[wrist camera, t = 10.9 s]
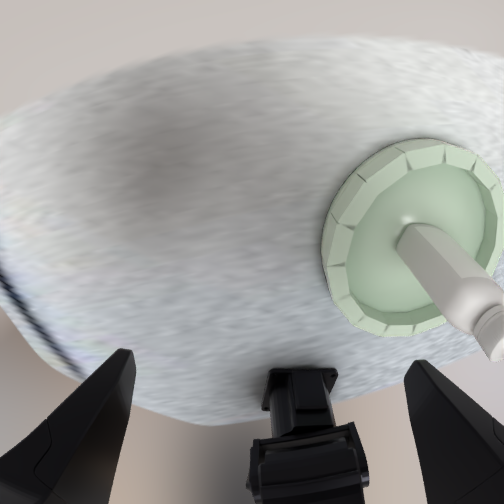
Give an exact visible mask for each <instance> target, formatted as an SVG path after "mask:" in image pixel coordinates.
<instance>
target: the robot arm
mask: <svg viewBox="0 0 504 504" xmlns="http://www.w3.org/2000/svg"><path fill="white" fill-rule="evenodd" d="M135 377H136V365H135V360H134V355H133V352H132V350H129V349H123V348H120V349H118V350H117V351H115V352H114V353H113V354H112V355H111V356H110V357H109V358H108V359H107V360H106V361H105V362H104V363H103V364H102V365H101V366H100V367H99V368H98V369H97V370H95V371H94V372H93V373H92V374H91V375H90V376H89V377H88V378H87V379H86V380H85V381H84V382H83V383H82V384H81V385H80V386H79V387H78V388H77V389H76V390H75V391H74V392H73V393H72V394H71V395H70V396H69V397H68V398H66V399H65V400H64V402H62V403H61V404H60V405H59V406H58V407H57V408H56V409H55V410H54V411H53V412H52V413H51V414H50V415H49V416H48V417H47V419H45V420H44V421H43V422H42V423H41V424H40V425H39V426H38V427H37V428H36V429H34V431H32V432H31V433H30V434H29V435H28V436H27V437H26V438H24V439H23V440H22V441H21V442H19V443H18V444H17V445H16V446H14V447H13V448H12V449H11V450H9V451H8V452H7V453H5V454H4V455H3V456H1V457H0V504H108V503H109V498H110V493H111V488H112V485H113V480H114V476H115V472H116V467H117V463H118V459H119V455H120V451H121V447H122V444H123V440H124V436H125V432H126V428H127V425H128V421H129V416H130V410H131V403H132V396H133V390H134V384H135ZM337 377H338V372H337V370H335V369H315V370H303V369H272V370H270V371H269V374H268V379H267V383H266V387H265V392H264V396H263V400H262V405H261V409H262V410H263V411H270V416H271V428H272V438H269V439H254V440H253V447H251V449H250V469H249V473H248V477H247V481H246V488H247V490H249V491H250V492H251V493H252V495H253V497H254V500H255V503H256V504H365V500H364V494H363V488H364V487H368V486H369V471H368V465H367V460H366V456H365V453H364V450H363V447H362V444H361V441H360V438H359V435H358V432H357V429H356V427H355V424H354V422H350V423H348V424H345V425H341V426H336V423H335V419H334V414H333V410H332V405H331V401H330V397H329V394H330V392H331V390H332V388H333V386H334V384H335V381H336V379H337ZM404 385H405V392H406V398H407V405H408V411H409V417H410V422H411V427H412V431H413V435H414V439H415V443H416V448H417V452H418V457H419V462H420V466H421V471H422V476H423V481H424V486H425V492H426V497H427V503H428V504H504V426H503V425H502V424H501V423H499V422H498V421H497V420H496V419H495V418H493V417H492V416H491V415H490V414H489V413H488V412H486V411H485V410H484V409H483V408H482V407H481V406H480V405H479V404H477V403H476V402H475V401H474V400H473V399H472V398H470V397H469V396H468V395H467V394H466V393H465V392H463V391H462V390H461V389H459V387H457V386H456V385H455V384H454V383H453V382H451V381H450V380H449V379H448V378H447V377H446V376H444V375H443V374H442V373H441V372H439V371H438V370H437V369H436V368H435V367H434V366H432V365H431V364H430V363H429V362H428V361H426V360H415V361H414V362H413V363H412V365H411V366H410V368H409V370H408V371H407V373H406V374H405V377H404Z"/></svg>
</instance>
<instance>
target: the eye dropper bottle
mask: <svg viewBox="0 0 504 504" xmlns="http://www.w3.org/2000/svg"><path fill="white" fill-rule="evenodd" d="M396 250H397V253H398V255H399V256H400V257H401V259H402V260H403V261H404V263H405V264H406V265H407V267H408V268H409V269H410V271H411V272H412V273H413V275H414V276H415V277H416V279H417V280H418V282H419V283H420V284H421V286H422V287H423V288H424V290H425V291H426V292H427V294H428V295H429V297H430V298H431V299H432V301H433V302H434V304H435V305H436V306H437V308H438V309H439V311H440V312H441V313H442V315H443V316H444V317H445V318H446V320H447V321H448V322H449V323H450V324H451V325H452V326H453V327H455V328H456V329H458V330H459V331H461V332H463V333H466V334H469V335H474V337H475V339H476V340H477V342H478V343H479V345H480V346H481V348H482V349H483V351H484V352H485V354H486V355H487V357H488V358H489V360H490V361H491V362H499V361H501V360H503V359H504V291H503V290H502V289H501V287H500V286H499V285H498V284H497V283H496V282H495V281H494V280H493V278H492V277H491V276H490V275H489V274H488V273H487V272H486V271H485V270H484V269H483V268H482V267H481V266H480V265H479V264H478V263H477V262H476V261H475V260H474V259H473V258H472V257H471V256H470V255H469V254H468V253H467V252H466V251H465V250H464V249H463V248H462V247H461V246H460V245H459V244H458V243H457V242H456V241H455V240H454V239H453V238H451V237H450V236H449V235H448V234H447V233H446V232H444V231H443V230H441V229H439V228H437V227H435V226H432V225H427V224H412V225H409V226H408V227H407V228H406V230H405V231H404V233H403V235H402V237H401V239H400V240H399V242H398V244H397V247H396Z"/></svg>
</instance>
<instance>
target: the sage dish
mask: <svg viewBox="0 0 504 504" xmlns="http://www.w3.org/2000/svg"><path fill="white" fill-rule="evenodd" d="M412 224H427V225H432V226H435V227H437V228H439V229H441V230H443V231H444V232H446V233H447V234H448V235H449V236H450V237H451V238H453V239H454V240H455V241H456V242H457V243H458V244H459V245H460V246H461V247H462V248H463V249H464V250H465V251H466V252H467V253H468V254H469V255H470V256H471V257H472V258H473V259H474V260H475V261H476V262H477V263H478V264H479V265H480V266H481V267H482V268H483V269H484V270H485V271H486V272H487V273H488V274H489V275H490V276H491V277H492V275H493V273H494V270H495V268H496V266H497V263H498V261H499V259H500V256H501V254H502V251H503V249H504V193H503V189H502V185H501V182H500V180H499V178H498V177H497V175H496V174H495V173H494V172H493V171H492V170H491V168H490V167H489V166H488V165H487V164H486V163H485V162H484V160H483V159H482V158H481V157H480V156H479V155H478V154H475V153H473V152H471V151H469V150H466V149H464V148H461V147H458V146H455V145H452V144H449V143H446V142H444V141H440V140H435V139H425V138H418V139H410V140H405V141H402V142H398V143H395V144H393V145H390V146H388V147H386V148H384V149H382V150H380V151H378V152H377V153H375V154H374V155H372V156H370V157H369V158H368V159H367V160H366V161H364V162H363V163H362V164H361V165H360V166H358V168H357V169H356V170H355V171H354V172H353V173H352V174H351V175H350V176H349V177H348V178H347V180H346V181H345V183H344V184H343V185H342V187H341V188H340V189H339V191H338V193H337V195H336V196H335V198H334V200H333V202H332V204H331V207H330V209H329V211H328V214H327V217H326V220H325V224H324V227H323V233H322V240H321V257H322V265H323V269H324V272H325V276H326V279H327V284H328V289H329V291H330V294H331V297H332V299H333V302H334V304H335V305H336V306H337V307H338V308H339V310H340V311H341V312H342V313H343V314H344V316H345V317H346V318H347V319H348V320H349V322H350V323H351V324H352V325H353V326H354V327H357V328H359V329H362V330H364V331H367V332H369V333H372V334H374V335H377V336H380V337H399V336H411V335H412V336H413V335H416V334H419V333H422V332H424V331H427V330H430V329H432V328H435V327H438V326H440V325H442V324H444V323H445V322H447V320H446V318H445V317H444V316H443V315H442V313H441V312H440V311H439V309H438V308H437V306H436V305H435V304H434V302H433V301H432V299H431V298H430V297H429V295H428V294H427V292H426V291H425V290H424V288H423V287H422V286H421V284H420V283H419V282H418V280H417V279H416V277H415V276H414V275H413V273H412V272H411V271H410V269H409V268H408V267H407V265H406V264H405V263H404V261H403V260H402V259H401V257H400V256H399V255H398V253H397V250H396V247H397V244H398V242H399V240H400V239H401V237H402V235H403V233H404V231H405V230H406V228H407V227H408V226H409V225H412Z"/></svg>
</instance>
